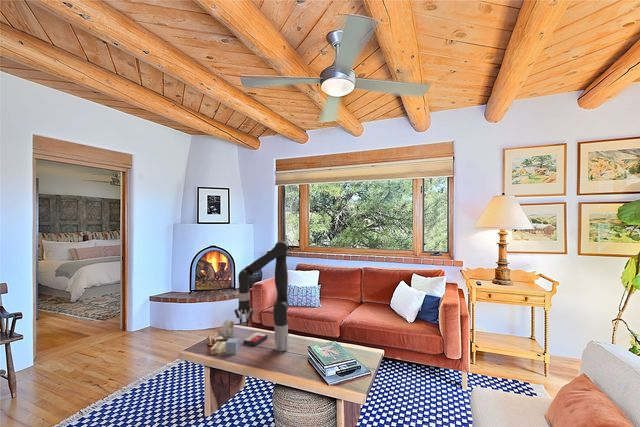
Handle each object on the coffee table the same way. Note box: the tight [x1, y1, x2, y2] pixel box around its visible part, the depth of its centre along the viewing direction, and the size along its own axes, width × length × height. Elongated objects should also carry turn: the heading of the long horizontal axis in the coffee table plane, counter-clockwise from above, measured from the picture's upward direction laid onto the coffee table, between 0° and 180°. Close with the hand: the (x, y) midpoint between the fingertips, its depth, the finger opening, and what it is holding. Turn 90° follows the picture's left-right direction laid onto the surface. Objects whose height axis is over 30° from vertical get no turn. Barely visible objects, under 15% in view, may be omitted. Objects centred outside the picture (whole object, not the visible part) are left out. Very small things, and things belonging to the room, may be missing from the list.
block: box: [225, 337, 240, 355], centre depth 206 cm, size 7×7×8 cm
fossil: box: [217, 319, 235, 341], centre depth 230 cm, size 16×9×15 cm, turn 156°
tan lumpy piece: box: [210, 341, 227, 355], centre depth 209 cm, size 6×12×4 cm, turn 177°
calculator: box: [243, 332, 268, 347], centre depth 223 cm, size 11×4×15 cm
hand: (244, 323), depth 206 cm, fingers open, 3 cm apart
